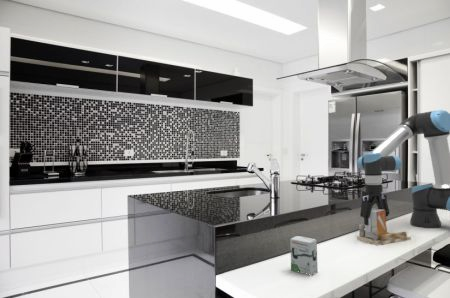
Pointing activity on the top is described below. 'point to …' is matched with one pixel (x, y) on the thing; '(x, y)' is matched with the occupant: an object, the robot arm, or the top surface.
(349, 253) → the top surface
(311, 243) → the ink box
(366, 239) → the board
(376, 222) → the small box
